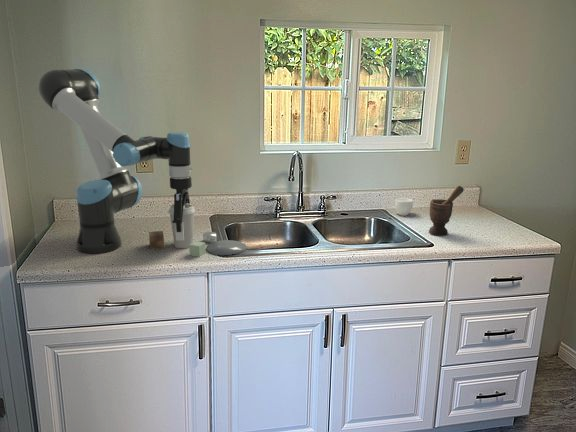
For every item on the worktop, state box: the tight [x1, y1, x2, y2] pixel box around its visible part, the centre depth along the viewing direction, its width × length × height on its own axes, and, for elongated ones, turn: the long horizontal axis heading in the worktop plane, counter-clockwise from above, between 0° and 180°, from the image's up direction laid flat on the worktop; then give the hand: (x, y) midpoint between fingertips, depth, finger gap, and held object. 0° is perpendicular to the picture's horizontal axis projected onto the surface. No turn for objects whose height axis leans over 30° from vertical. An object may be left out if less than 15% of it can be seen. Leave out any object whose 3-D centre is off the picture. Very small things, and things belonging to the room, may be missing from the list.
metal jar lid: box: [202, 231, 218, 245], centre depth 199 cm, size 5×5×3 cm
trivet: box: [206, 239, 247, 256], centre depth 191 cm, size 14×14×1 cm
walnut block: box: [148, 230, 165, 250], centre depth 193 cm, size 5×5×5 cm
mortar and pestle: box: [428, 185, 465, 237], centre depth 209 cm, size 12×9×20 cm
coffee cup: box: [167, 203, 196, 249], centre depth 192 cm, size 10×10×15 cm
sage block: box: [188, 240, 207, 258], centre depth 185 cm, size 4×4×4 cm
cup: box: [394, 197, 414, 217], centre depth 237 cm, size 8×10×7 cm
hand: (183, 234), depth 193 cm, fingers open, 13 cm apart
